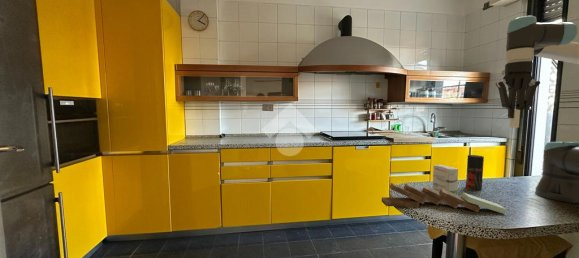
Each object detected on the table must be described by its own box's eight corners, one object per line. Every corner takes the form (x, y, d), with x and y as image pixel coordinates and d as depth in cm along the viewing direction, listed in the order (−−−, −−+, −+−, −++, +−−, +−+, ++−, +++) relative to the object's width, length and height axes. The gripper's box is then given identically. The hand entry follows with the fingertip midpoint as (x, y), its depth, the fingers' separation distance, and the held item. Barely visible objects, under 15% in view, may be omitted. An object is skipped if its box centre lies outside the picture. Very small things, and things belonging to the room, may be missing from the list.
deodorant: (485, 190, 113) (487, 157, 112) (471, 190, 113) (473, 157, 112) (475, 186, 119) (477, 155, 118) (462, 186, 119) (464, 154, 118)
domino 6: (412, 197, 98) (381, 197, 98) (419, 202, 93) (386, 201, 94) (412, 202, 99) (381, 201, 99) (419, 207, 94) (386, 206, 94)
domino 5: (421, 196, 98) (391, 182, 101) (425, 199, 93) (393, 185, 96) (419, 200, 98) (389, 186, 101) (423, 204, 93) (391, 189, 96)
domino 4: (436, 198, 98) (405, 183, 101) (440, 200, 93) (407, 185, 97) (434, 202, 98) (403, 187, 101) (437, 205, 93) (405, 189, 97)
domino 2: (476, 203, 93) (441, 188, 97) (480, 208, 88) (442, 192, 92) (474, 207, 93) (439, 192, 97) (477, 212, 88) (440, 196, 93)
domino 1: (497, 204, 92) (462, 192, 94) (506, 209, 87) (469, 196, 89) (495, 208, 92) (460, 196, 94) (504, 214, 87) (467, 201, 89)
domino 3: (458, 201, 95) (425, 185, 101) (458, 204, 90) (423, 187, 97) (456, 205, 95) (423, 189, 101) (456, 208, 91) (421, 191, 97)
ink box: (457, 197, 104) (459, 168, 104) (447, 197, 103) (449, 169, 103) (441, 190, 113) (442, 164, 112) (431, 191, 112) (432, 164, 111)
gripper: (532, 63, 94) (528, 127, 96) (492, 64, 97) (488, 126, 99) (548, 59, 87) (542, 128, 89) (504, 60, 90) (499, 127, 92)
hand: (514, 127), depth 94 cm, fingers closed
